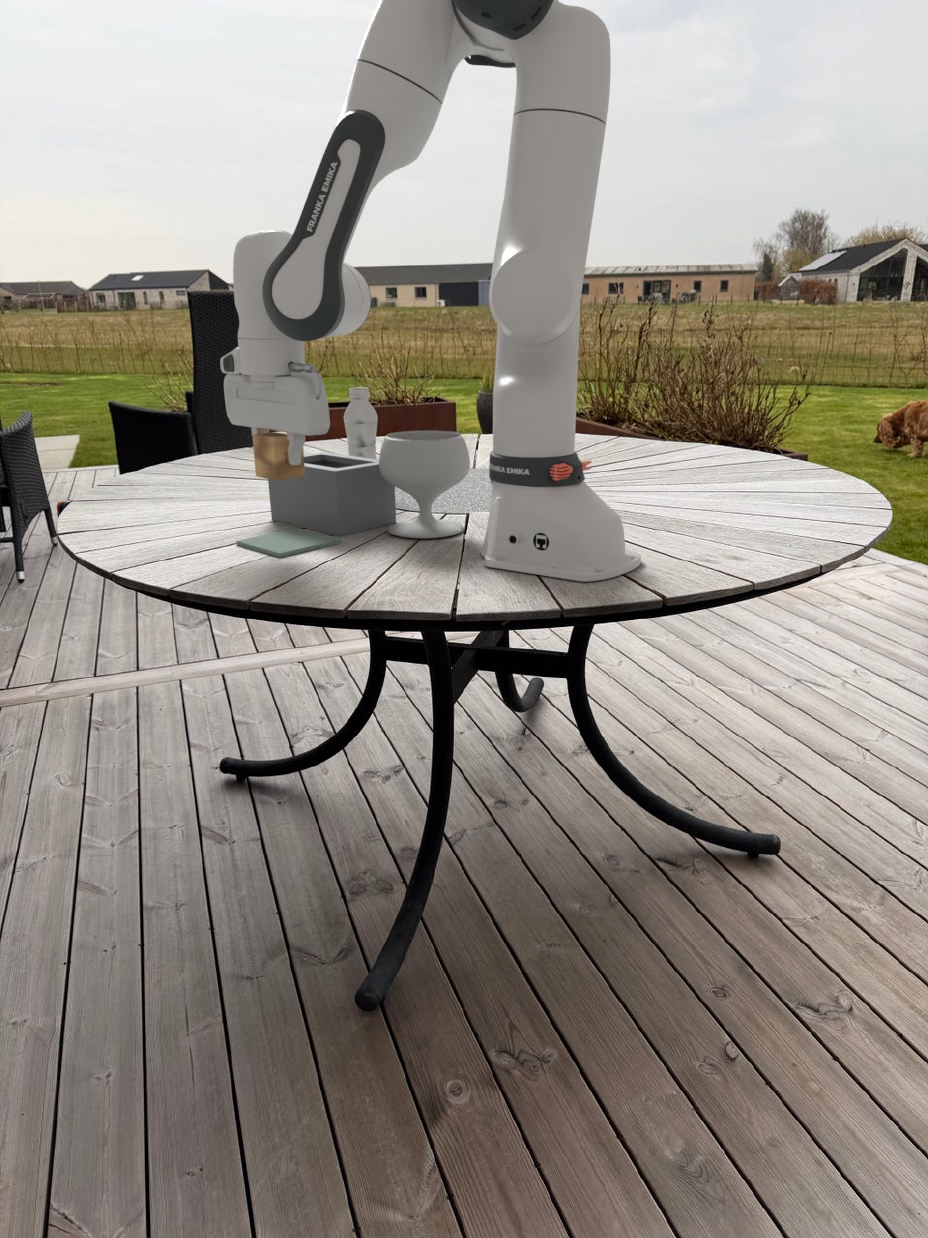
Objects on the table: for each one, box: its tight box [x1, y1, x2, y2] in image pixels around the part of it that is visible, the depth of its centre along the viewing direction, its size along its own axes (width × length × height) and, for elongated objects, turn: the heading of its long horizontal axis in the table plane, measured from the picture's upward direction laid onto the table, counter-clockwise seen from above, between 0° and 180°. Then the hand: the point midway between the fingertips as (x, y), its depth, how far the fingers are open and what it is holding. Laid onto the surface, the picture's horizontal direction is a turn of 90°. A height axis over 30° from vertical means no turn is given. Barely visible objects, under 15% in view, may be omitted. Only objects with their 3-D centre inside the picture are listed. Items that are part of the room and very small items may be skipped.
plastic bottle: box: [343, 386, 378, 460], centre depth 150 cm, size 6×7×20 cm
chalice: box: [378, 430, 471, 539], centre depth 122 cm, size 14×14×15 cm
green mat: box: [235, 527, 342, 558], centre depth 118 cm, size 11×11×1 cm
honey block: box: [252, 431, 305, 481], centre depth 113 cm, size 5×5×6 cm
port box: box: [267, 451, 397, 537], centre depth 130 cm, size 18×12×10 cm, turn 48°
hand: (279, 461), depth 114 cm, fingers closed on honey block, 5 cm apart
